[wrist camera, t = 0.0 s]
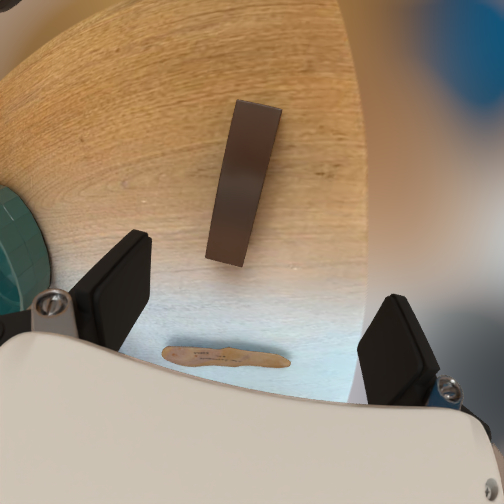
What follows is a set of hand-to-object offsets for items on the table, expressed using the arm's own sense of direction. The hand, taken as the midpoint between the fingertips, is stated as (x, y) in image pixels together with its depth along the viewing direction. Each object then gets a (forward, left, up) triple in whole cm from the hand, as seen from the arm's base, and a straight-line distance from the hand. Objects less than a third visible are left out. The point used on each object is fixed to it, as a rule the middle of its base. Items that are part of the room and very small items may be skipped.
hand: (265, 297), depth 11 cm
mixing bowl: (+13, -33, -14) cm, 38 cm away
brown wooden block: (-1, -3, -14) cm, 14 cm away
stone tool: (+19, -1, -14) cm, 24 cm away
